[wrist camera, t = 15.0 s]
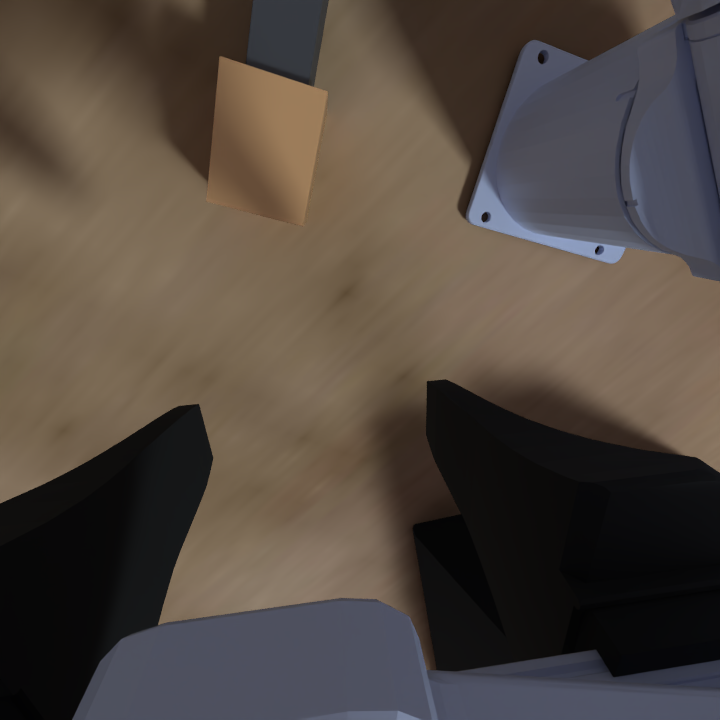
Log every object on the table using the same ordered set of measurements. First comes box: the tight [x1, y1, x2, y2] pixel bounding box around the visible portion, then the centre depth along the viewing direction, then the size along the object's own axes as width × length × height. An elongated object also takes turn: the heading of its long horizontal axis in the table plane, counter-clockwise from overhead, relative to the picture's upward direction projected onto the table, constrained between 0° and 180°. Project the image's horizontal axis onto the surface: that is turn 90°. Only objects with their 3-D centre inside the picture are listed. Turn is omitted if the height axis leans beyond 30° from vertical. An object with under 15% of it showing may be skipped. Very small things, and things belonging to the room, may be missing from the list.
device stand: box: [413, 514, 514, 672], centre depth 26 cm, size 22×22×15 cm
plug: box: [206, 0, 329, 227], centre depth 14 cm, size 15×4×4 cm, turn 165°
